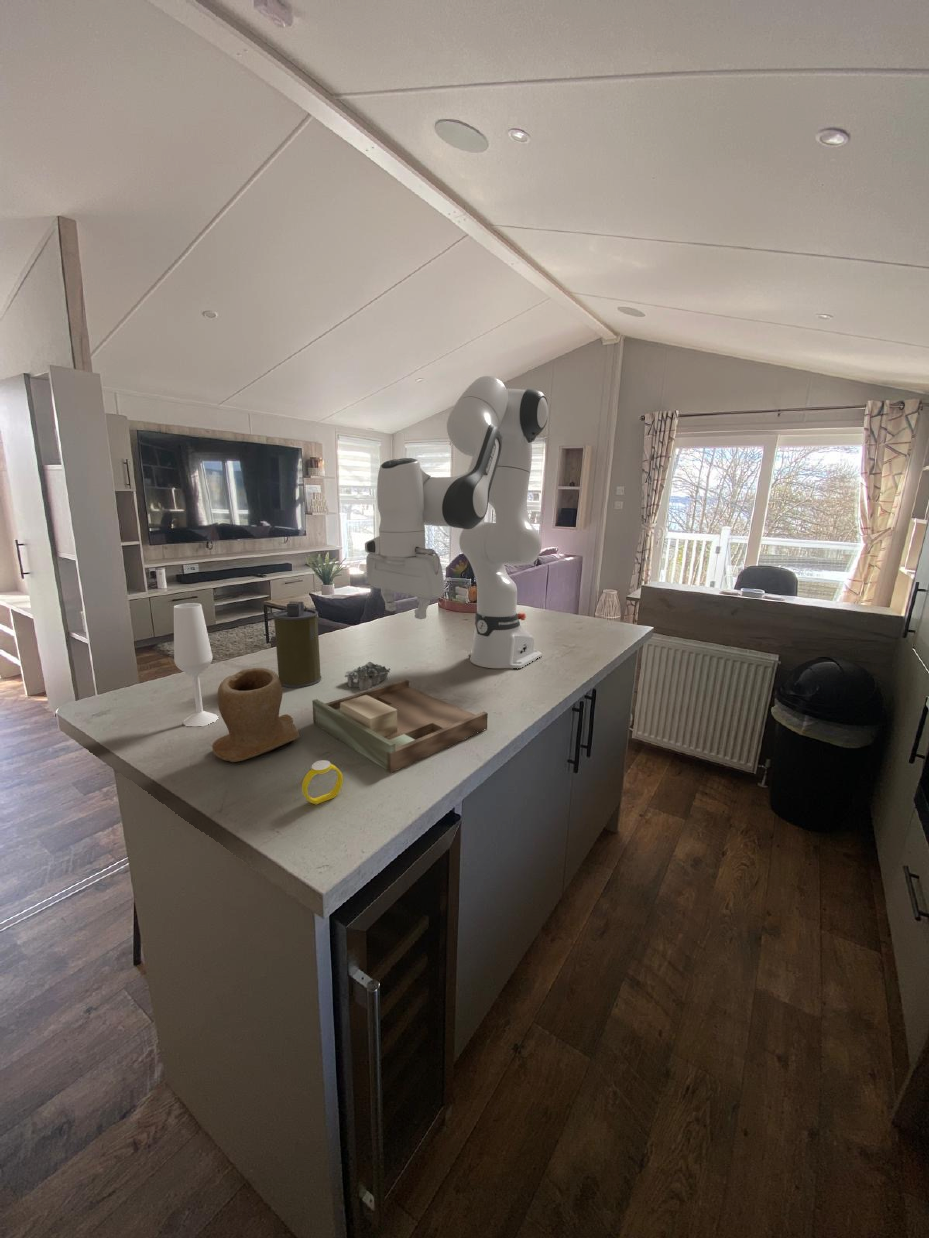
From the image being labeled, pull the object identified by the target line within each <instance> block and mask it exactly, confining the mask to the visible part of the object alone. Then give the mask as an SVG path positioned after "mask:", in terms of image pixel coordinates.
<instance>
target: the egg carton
mask: <svg viewBox="0 0 929 1238" xmlns="http://www.w3.org/2000/svg"><path fill="white" fill-rule="evenodd" d="M390 671H391V668H386V666H385V665H384V666H383V665H381V664H377V663H374V662H371V661H368V662H367V663H366V664H365V665H362V666H358V667H357V668H354V669H352V670H347V671H346V672H345V673H344V674H345V675H344V678H347V686H348V687H349V688H353V687H356V688H358V689H359V690H362V691H365V690H371V689H372V686H375V685H376V686H377V685H379V684H380V682H383V681H384V682H385V681H388V680H389V679H388V674H389V673H390Z"/></svg>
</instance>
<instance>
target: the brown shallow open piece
mask: <svg viewBox="0 0 929 1238" xmlns="http://www.w3.org/2000/svg"><path fill="white" fill-rule="evenodd" d="M409 683H410V680H408V679H403V680H400V681H396V682H394V683H389V684H387V685H382V686H379V687H376V688H373V689H372V688H371V689H368V690H367V691H363V692H360V693H355V694H353V695H349V696H346V697H343V698H339V699H337V700H336V699H335V700H333V701H330V702H327V703H325V702H323V701H321V700H320V699H317V698H316V699H313V700H312V717H313V718H312V719H313V721H312V722H313V724H314V725H316V726H317V727H318V728H320V729H322V730H323V731H325V732H326V733H328V734H330V735H331V736H332V737H334V738H335V739H337V740H339V741H341V742H343V743H344V744H345V745H346V746H348V747H349V748H352V750H355V751H356V752H358V753H360V754H361V755H363V756H364V757H365V758H368V759H369V760H370V761H371V762H373V763H375V764H376V765H378V766H380V767H381V768H383V769H385V770H386V771H387V772H389V773H393V772H396V771H398V770H400V769H402V768H405V767H407V766H409V765H411V764H413V763H416V762H417V761H420V760H423V759H425V758H427V757H429V756H431V755H433V754H435V753H437V752H440V751H441V750H444V749H446V747H447V748H449V747H451V746H453V745H455V744H457V742H458V743H459V741H460V742H461V740H462V741H464V740H466V739H468V738H467V737H469V736H471V737H473V736H475V735H477V734H478V733H477V732H480V731H482V730H484V729H486V730H488V717H489V716H488V712H486V711H482V712H480V713H477V714H474V713H472V712H470V711H468V710H465V709H463V708H460V707H458V706H455V705H453V704H451V703H448V702H446V701H445V700H441V699H439V698H437V697H434V696H433V695H430V694H427V693H425V692H424V691H420V690H418V689H415V688H413V687H412V686H410V684H409ZM364 695H368V696H370V697H372V698H374V699H376V700H378V701H380V702H382V703H384V704H386V705H388V706H391V707H393V708H395V709H397V732H396V733H393V734H390V735H388V736H385V737H383V736H381V735H379V734H377V733H376V732H374V731H372V730H370V729H369V728H367V727H365V726H363V725H362V724H360V723H358V722H356V721H355V720H353V719H351V718H349V717H347V716H346V715H344V714H342V713H340V703H341V702H344V701H347V700H351V699H354V698H357V697H360V696H364ZM484 731H485V730H484ZM482 732H483V731H482ZM476 733H477V734H476ZM480 733H481V732H480ZM474 734H475V735H474ZM472 735H473V736H472ZM465 738H466V739H465ZM469 738H470V737H469ZM463 739H464V740H463ZM448 746H449V747H448Z"/></svg>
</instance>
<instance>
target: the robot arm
mask: <svg viewBox="0 0 929 1238" xmlns="http://www.w3.org/2000/svg"><path fill="white" fill-rule="evenodd" d="M548 416H549V403H548V400H547V397H546V395H545V394H544V393H543V391H540V390H537V389H533V388H527V389H522V388H521V389H520V388H506V386H505V384H504V383H503V381H501V380H500V379H499V378H497V377H495V376H491V375H484V376H480V377H478V378H476V379H475V380H474V381H473V382H472V383H471V384H470V385H469V386H468V387H466V389H465V391H463V393H462V394H461V395H460V397H459V398H458V400H457V402H456V403H455V405H454V406H453V408H452V410H451V411H450V413H449V415H448V416H447V417H448V418H447V422H446V433H447V436H448V438H449V440H450V442H451V443H452V445H453V446H454V447H455V449H457V450H458V451H459V452H460V453H463V455H466V456H468V457H472V458H471V461H470V464H469V466H468V470H467V471H466V472H465V473H463V474H460V475H456V476H440V477H439V476H438V477H437V476H436V477H435V476H432V475H429V474H428V473H426V472H425V471H424V470H423V469H422V468H421V464H420V461H419V460H418V459H416V458H411V457H410V458H409V457H406V458H405V457H404V458H403V457H402V458H397V459H396V458H395V459H390V460H387V461H384V462H383V463H382V464H380V466H379V468H378V469H379V470H378V473H377V483H376V485H377V486H376V490H377V491H376V497H377V499H376V500H377V502H376V503H377V510H378V513H379V516H380V522H379V527H378V536H376V537H374V538H372V539H370V540H368V541H366V542H364V551H365V553H367V555H366V559H365V563H366V577H367V581H368V584H369V586H370V587H371V588H375V589H380V595H381V597H382V599H383V601H384V607H385V610H386V611H389V612H394V611H396V610H397V602H396V601H394V597H393V593H399V594H403V595H408V596H411V597H415V598H416V599H417V603H419V604H418V606H417V608H416V609H414V618H416V619H418V620H425V619H426V618H427V609H428V607H429V606H430V603H431V600H436V599H440V598H442V597H443V595H444V594H445V581H444V580H445V579H444V572H443V567H442V563H441V557H440V556H439V554H438V553H437V552H436V551H435V550H434V549H433V548H426V532H425V531H426V528H425V527H426V526H433V527H450V528H456V529H461V532H460V535H459V542H458V543H459V550H460V551H461V553H462V554H463V555H464V556H465V558H466V559H467V560H468V562H469V564H470V566H471V569H472V572H473V574H474V575H473V576H474V579H475V583H476V612H475V616H474V625H475V629H474V631H473V639H472V648H471V650H470V652H469V656H470V657H469V660H470V662H471V663H472V664H473V665H476V666H478V667H483V668H490V669H513V668H517V669H518V668H521V669H522V667H523V668H524V667H526V666H528V665H529V663H530V664H532V663H533V662H536V661H537V660H538V659H540V658H542V657H543V654H542V652H541V651H539V650H538V649H535V639H534V637H533V635H532V634H531V633H530V632H528V631H527V630H526V629H525V628H523V627H522V626H521V623H520V620H521V621H525V620H526V618H527V614H526V613H522V612H518V613H517V604H518V603H517V601H518V587H517V584H516V583H515V581H514V580H513V579H512V578H511V577H510V576H509V574H508V572H507V570H506V567H505V566H512V567H513V566H514V567H520V566H527V565H531V564H533V563H535V562H536V561H537V559H538V558H539V556H540V554H541V552H542V538H541V536H540V533H539V532H538V531H537V529H536V528H535V527H534V525H533V524H532V521H531V520H530V519H531V518H530V516H529V512H528V492H529V486H530V485H529V484H530V478H531V472H532V470H531V469H532V461H533V442H534V441H535V440H536V438H537V437H538V436H539V435H540V434H541V432H543V430H544V429H545V427H546V425H547V422H548ZM489 504H490V505H491V507H492V508H493V510H494V512H495V513H494V515H495V522H489V521H488V522H486V521H483V519H484V518H485V516H486V515H487V511H488V507H489ZM541 656H542V657H541ZM539 657H540V658H539ZM537 658H538V659H537ZM536 659H537V660H536ZM532 661H533V662H532ZM527 664H528V665H527ZM525 665H526V666H525ZM517 669H516V670H517ZM518 670H519V669H518Z"/></svg>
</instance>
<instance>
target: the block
mask: <svg viewBox="0 0 929 1238" xmlns="http://www.w3.org/2000/svg"><path fill="white" fill-rule="evenodd" d="M340 713H342V714H344V715H346V716H347V717H349V718H351V719H353V720H355V721H356V722H358V723H360V724H362V725H363V726H365V727H367V728H369V729H370V730H372V731H374V732H376V733H377V734H379V735H381V736H383V737H385V736H388V735H390V734H393V733H396V732H397V709H395V708H393V707H391V706H388V705H386V704H384V703H382V702H380V701H378V700H376V699H374V698H372V697H370V696H368V695H364V696H360V697H357V698H354V699H351V700H347V701H344V702H341V703H340Z"/></svg>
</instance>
